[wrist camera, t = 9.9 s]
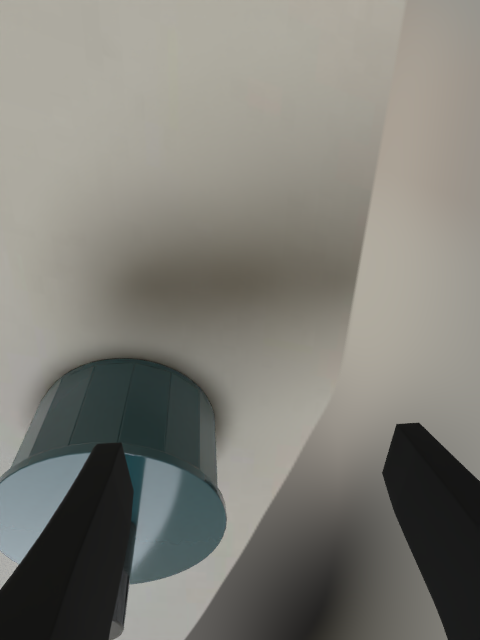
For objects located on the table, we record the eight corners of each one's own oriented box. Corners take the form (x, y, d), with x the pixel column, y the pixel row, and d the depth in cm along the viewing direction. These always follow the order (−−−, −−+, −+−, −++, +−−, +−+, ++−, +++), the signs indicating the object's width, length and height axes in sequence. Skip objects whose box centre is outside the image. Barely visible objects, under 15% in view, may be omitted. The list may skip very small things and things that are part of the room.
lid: (223, 422, 17) (230, 544, 13) (227, 555, 23) (233, 668, 19) (-45, 438, 16) (-130, 574, 12) (30, 571, 22) (-9, 693, 18)
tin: (211, 353, 22) (214, 440, 17) (217, 471, 27) (221, 563, 22) (18, 363, 21) (-37, 457, 16) (64, 482, 27) (33, 579, 22)
